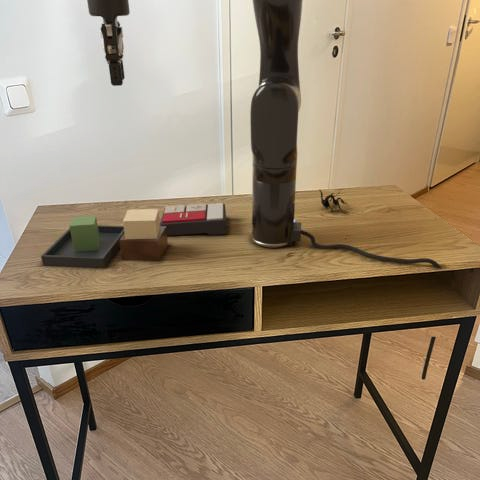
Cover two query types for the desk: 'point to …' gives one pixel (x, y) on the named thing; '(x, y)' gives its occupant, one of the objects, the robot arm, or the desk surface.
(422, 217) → the desk surface
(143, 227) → the cream block
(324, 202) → the creature
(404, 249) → the desk surface
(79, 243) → the green block
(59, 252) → the tray
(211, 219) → the calculator
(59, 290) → the desk surface
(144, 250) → the walnut block
